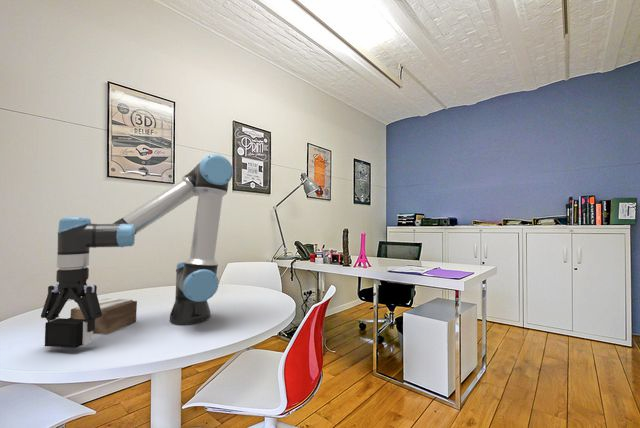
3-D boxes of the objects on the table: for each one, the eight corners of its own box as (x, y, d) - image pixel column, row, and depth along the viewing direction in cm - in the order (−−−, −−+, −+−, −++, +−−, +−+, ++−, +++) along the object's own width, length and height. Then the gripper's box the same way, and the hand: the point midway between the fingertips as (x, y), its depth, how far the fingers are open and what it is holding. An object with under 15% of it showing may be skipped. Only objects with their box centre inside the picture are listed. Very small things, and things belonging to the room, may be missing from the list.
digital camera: (92, 341, 90) (93, 317, 90) (75, 348, 84) (76, 323, 85) (63, 339, 91) (63, 316, 92) (44, 346, 86) (45, 322, 86)
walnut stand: (136, 321, 115) (137, 299, 115) (106, 334, 101) (108, 308, 101) (102, 320, 116) (104, 298, 117) (69, 332, 102) (71, 307, 103)
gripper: (117, 266, 92) (115, 338, 91) (51, 265, 94) (48, 336, 93) (97, 270, 85) (95, 348, 84) (25, 269, 87) (22, 345, 86)
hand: (70, 341), depth 88 cm, fingers closed on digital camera, 10 cm apart
